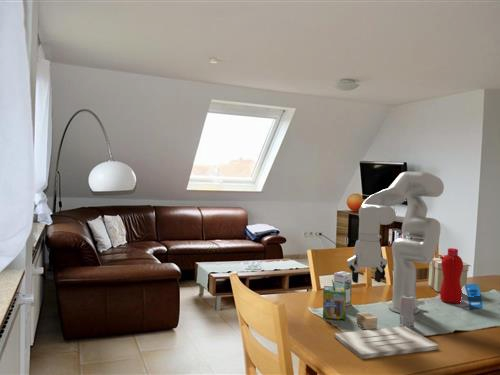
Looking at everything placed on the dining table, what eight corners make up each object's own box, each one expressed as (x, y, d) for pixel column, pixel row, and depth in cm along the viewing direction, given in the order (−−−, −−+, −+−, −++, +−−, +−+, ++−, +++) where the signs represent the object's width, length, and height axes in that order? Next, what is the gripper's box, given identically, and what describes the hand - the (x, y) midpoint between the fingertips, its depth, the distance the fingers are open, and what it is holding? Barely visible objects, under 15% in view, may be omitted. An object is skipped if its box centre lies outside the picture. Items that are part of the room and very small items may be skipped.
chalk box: (345, 320, 173) (346, 284, 172) (322, 318, 175) (323, 282, 174) (345, 313, 182) (346, 278, 181) (323, 311, 184) (324, 277, 183)
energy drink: (413, 325, 169) (414, 295, 169) (414, 330, 164) (415, 299, 164) (399, 323, 171) (400, 293, 171) (399, 328, 166) (400, 297, 165)
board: (404, 330, 164) (405, 326, 164) (438, 349, 147) (438, 345, 147) (334, 337, 155) (334, 333, 155) (361, 358, 138) (361, 354, 138)
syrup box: (343, 307, 190) (344, 275, 189) (332, 304, 194) (333, 272, 194) (351, 304, 194) (352, 273, 193) (340, 301, 198) (341, 270, 198)
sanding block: (356, 325, 168) (357, 312, 168) (366, 324, 170) (367, 311, 170) (366, 331, 162) (366, 318, 162) (376, 330, 163) (377, 317, 163)
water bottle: (440, 303, 199) (442, 249, 198) (439, 297, 209) (441, 246, 208) (462, 306, 195) (465, 251, 194) (460, 299, 205) (463, 247, 204)
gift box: (474, 294, 215) (476, 260, 214) (438, 293, 215) (439, 259, 214) (458, 285, 232) (460, 253, 231) (424, 284, 232) (425, 252, 231)
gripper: (382, 236, 171) (380, 279, 171) (343, 236, 166) (341, 280, 167) (393, 239, 164) (391, 283, 164) (353, 239, 159) (350, 285, 160)
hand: (366, 281), depth 165 cm, fingers open, 9 cm apart
